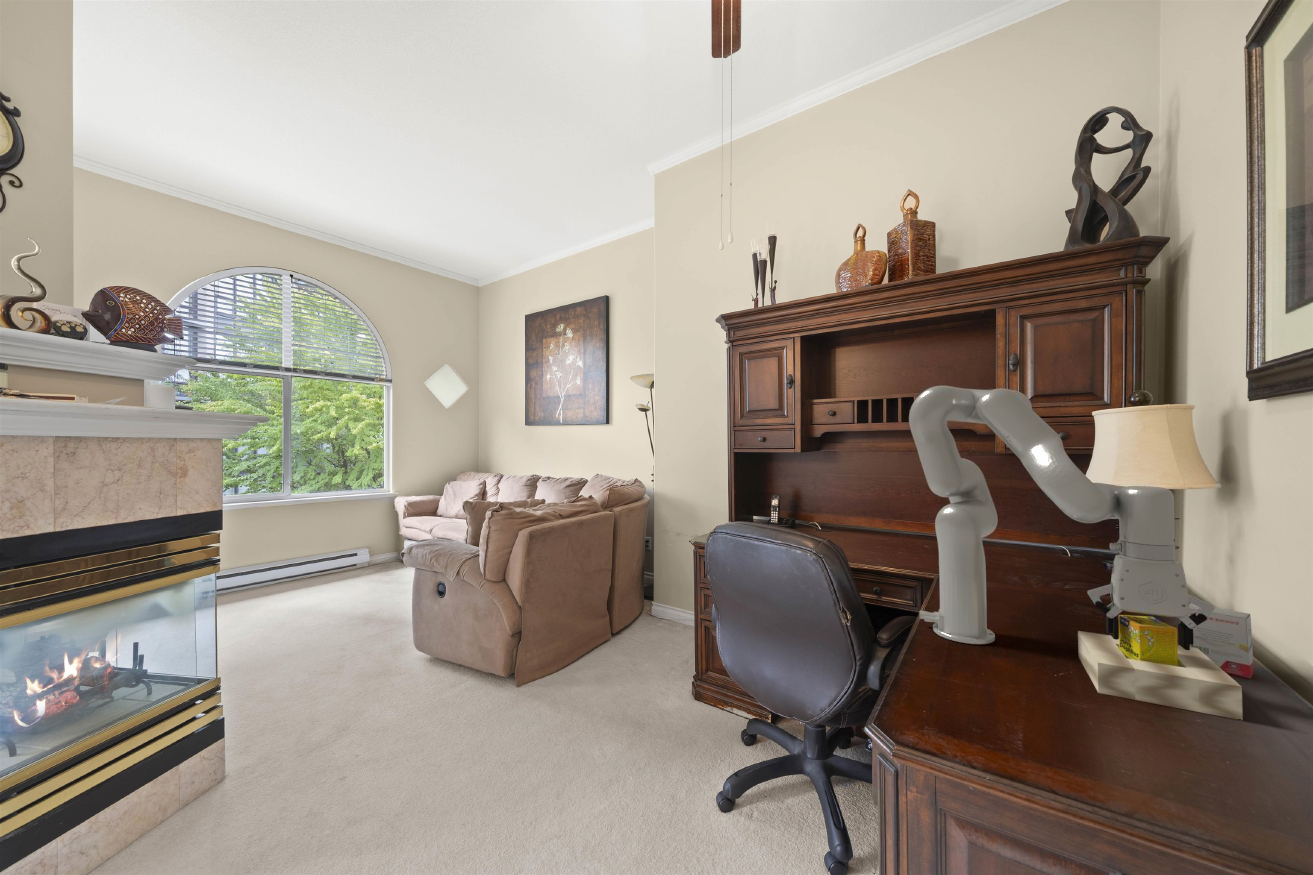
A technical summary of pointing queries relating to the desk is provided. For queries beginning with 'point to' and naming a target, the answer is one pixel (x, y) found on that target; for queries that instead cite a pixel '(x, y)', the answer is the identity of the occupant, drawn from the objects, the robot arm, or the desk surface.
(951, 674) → the desk surface
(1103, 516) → the robot arm
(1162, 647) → the supplement box
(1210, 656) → the ink box
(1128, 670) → the well block
